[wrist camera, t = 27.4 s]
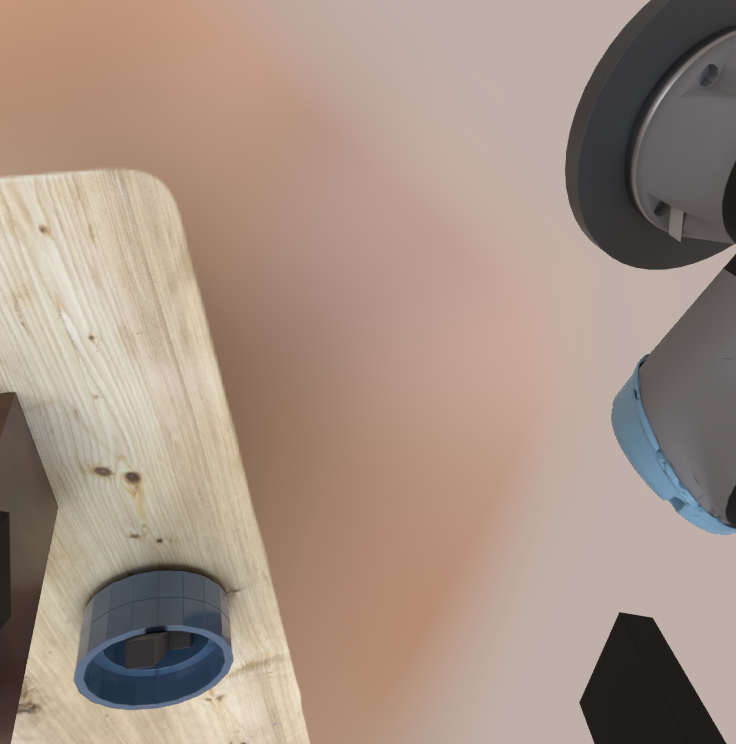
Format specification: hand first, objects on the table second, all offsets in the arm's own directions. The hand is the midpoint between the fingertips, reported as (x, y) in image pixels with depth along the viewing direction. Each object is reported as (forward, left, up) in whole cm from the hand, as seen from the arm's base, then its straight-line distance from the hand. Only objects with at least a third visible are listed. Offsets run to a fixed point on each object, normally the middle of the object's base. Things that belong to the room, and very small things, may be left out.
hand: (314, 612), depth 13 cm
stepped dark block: (+9, +37, -24) cm, 45 cm away
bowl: (+10, +43, -31) cm, 54 cm away
